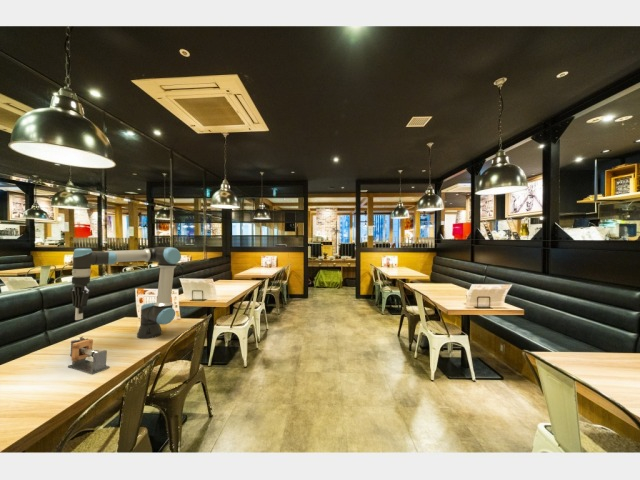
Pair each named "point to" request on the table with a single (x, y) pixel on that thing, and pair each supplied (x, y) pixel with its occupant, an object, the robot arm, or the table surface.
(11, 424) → the table surface
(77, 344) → the orange square ring
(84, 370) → the pipe rail
